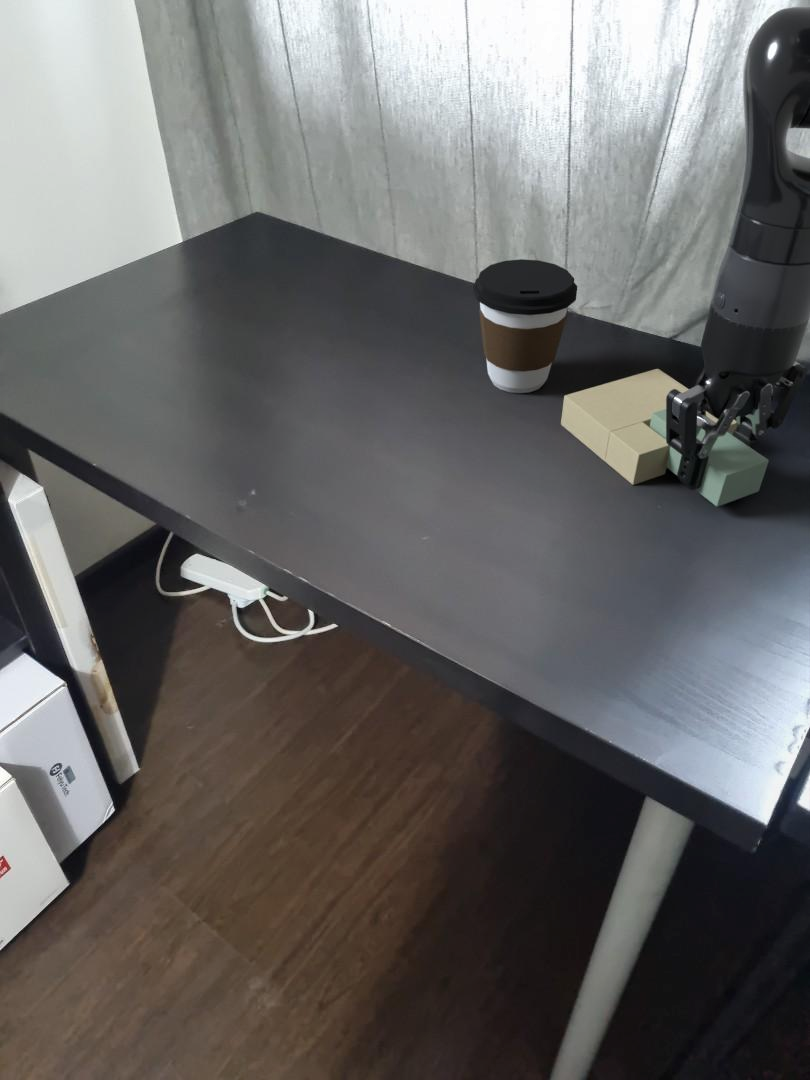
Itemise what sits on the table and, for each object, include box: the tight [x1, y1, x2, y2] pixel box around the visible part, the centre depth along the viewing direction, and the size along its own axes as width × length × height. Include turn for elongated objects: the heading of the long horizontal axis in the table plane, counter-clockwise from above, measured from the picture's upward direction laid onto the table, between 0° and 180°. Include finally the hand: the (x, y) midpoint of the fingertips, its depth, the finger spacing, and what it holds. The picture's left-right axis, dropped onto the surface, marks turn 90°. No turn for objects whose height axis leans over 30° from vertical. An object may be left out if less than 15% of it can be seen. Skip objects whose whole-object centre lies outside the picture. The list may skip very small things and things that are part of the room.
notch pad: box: [560, 368, 738, 486], centre depth 83 cm, size 12×12×4 cm
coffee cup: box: [472, 258, 578, 394], centre depth 90 cm, size 11×11×12 cm
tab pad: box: [650, 409, 770, 507], centre depth 77 cm, size 11×5×4 cm, turn 26°
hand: (712, 475), depth 77 cm, fingers closed on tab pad, 5 cm apart
